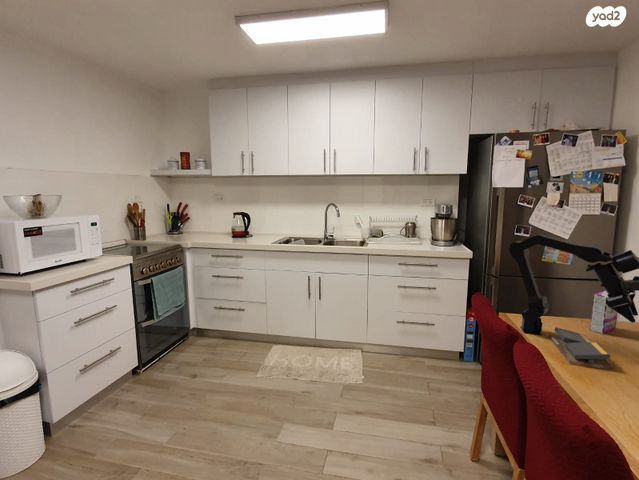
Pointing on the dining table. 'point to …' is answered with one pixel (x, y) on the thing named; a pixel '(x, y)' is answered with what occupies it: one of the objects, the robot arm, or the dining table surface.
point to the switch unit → (584, 362)
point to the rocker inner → (571, 336)
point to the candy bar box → (602, 314)
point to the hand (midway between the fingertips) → (635, 318)
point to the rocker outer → (587, 350)
